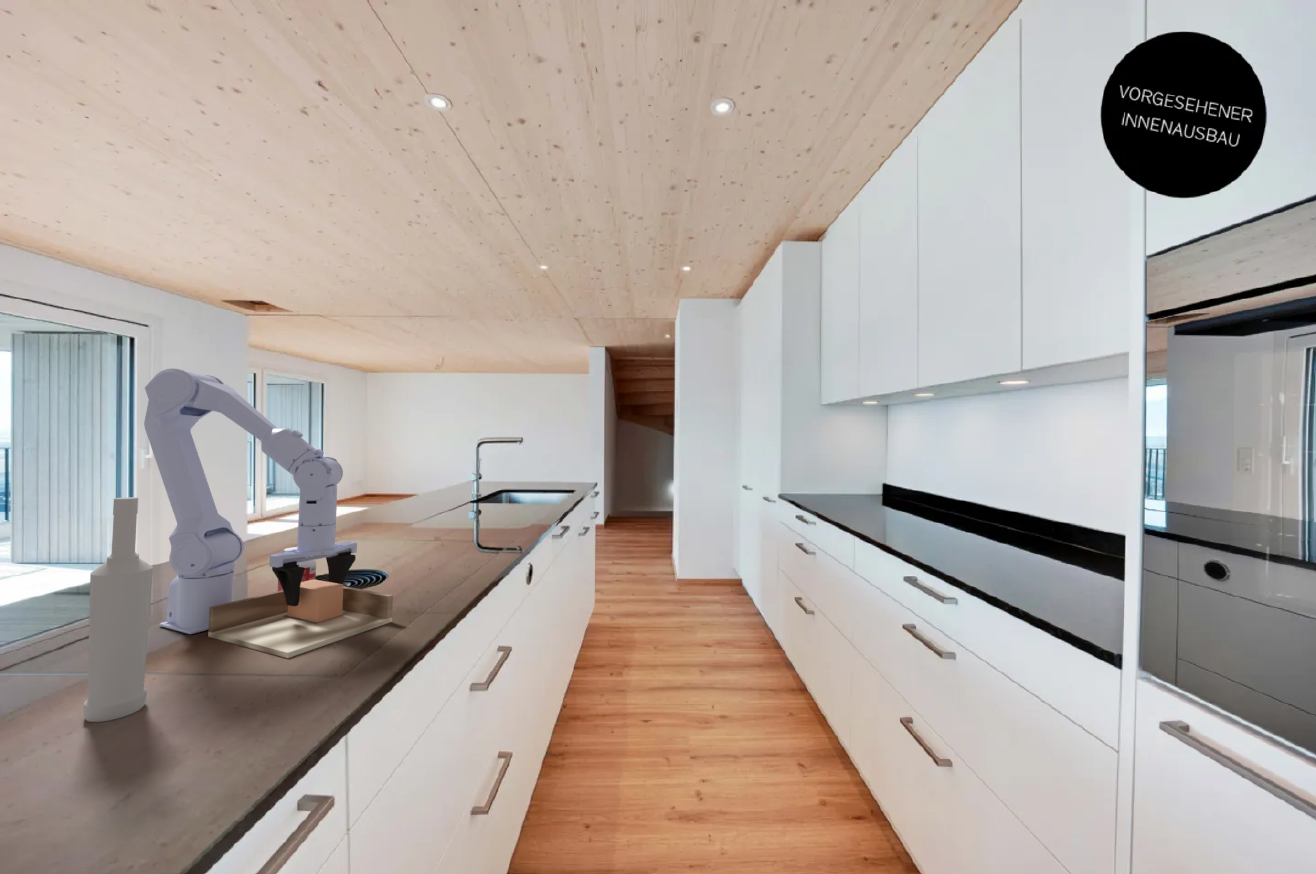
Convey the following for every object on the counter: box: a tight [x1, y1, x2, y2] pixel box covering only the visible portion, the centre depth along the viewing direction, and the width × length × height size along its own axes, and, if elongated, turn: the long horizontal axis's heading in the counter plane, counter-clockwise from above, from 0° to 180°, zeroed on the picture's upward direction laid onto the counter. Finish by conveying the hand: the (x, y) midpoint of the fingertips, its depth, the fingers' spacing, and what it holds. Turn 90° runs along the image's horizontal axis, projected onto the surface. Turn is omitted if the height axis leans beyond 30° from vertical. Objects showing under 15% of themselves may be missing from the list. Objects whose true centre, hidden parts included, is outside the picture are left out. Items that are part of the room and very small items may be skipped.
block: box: [287, 579, 344, 622], centre depth 93 cm, size 8×4×6 cm, turn 68°
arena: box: [207, 585, 394, 659], centre depth 88 cm, size 20×18×5 cm
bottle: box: [83, 496, 154, 723], centre depth 60 cm, size 5×5×25 cm
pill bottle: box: [276, 546, 317, 592], centre depth 101 cm, size 6×6×11 cm
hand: (314, 599), depth 93 cm, fingers open, 7 cm apart
